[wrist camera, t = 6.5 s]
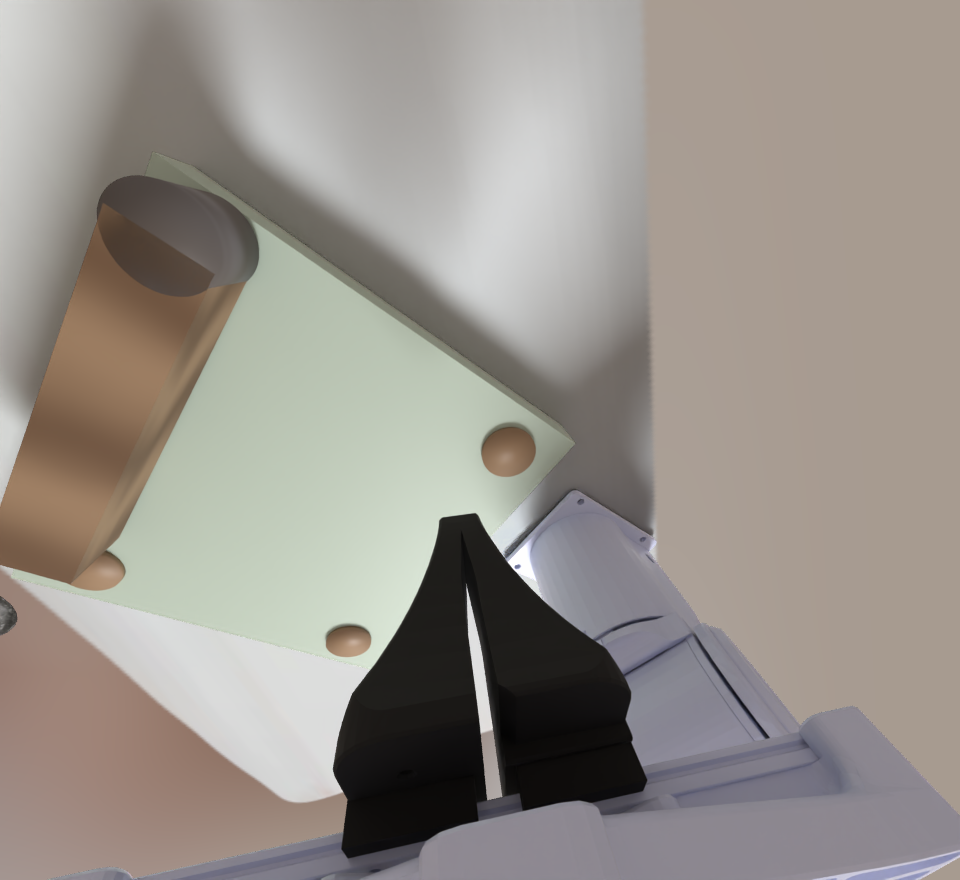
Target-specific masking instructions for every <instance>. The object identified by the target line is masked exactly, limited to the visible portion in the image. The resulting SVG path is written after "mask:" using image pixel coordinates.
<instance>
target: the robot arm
mask: <svg viewBox="0 0 960 880" xmlns="http://www.w3.org/2000/svg"><path fill="white" fill-rule="evenodd" d="M580 499H582V500H581V501H579V502H578V500H580ZM655 545H656V540H655V539H654V538H653V537H652V536H651V535H649V534H647V533H646V532H644V531H643V530H641V529H639V528H638V527H636V526H634V525H633V524H631V523H630V522H628V521H626V520H625V519H623V518H622V517H620V516H618V515H617V514H615V513H613V512H612V511H610V510H609V509H607V508H605V507H604V506H602V505H601V504H599V503H597V502H596V501H594V500H592V499H591V498H589V497H588V496H586V495H584V494H583V493H581V492H580V491H577V490H574V491H571V492H570V493H569V494H568V495H567V496H566V497H565V498H564V499H563V500H562V501H561V502H560V503H559V504H558V505H557V506H556V507H555V508H554V509H553V510H552V511H551V512H550V513H549V515H548V516H547V517H546V518H545V519H544V520H543V521H542V522H541V523H540V524H539V525H538V526H537V527H536V528H535V529H534V530H533V531H532V532H531V533H530V534H529V535H528V536H527V538H526V539H525V540H524V541H523V542H522V543H521V544H520V545H519V546H518V547H517V548H516V549H515V550H514V551H513V552H512V553H511V554H510V555H509V556H508V557H507V558H506V559H505V558H504V557H503V555H502V554H501V553H500V551H499V550H498V548H497V547H496V545H495V544H494V543H493V541H492V540H491V538H490V536H489V535H488V533H487V532H486V530H485V528H484V526H483V524H482V522H481V520H480V518H479V516H478V515H477V514H476V513H471V514H463V515H456V516H449V517H442V518H441V519H440V520H439V528H438V534H437V538H436V542H435V546H434V549H433V552H432V556H431V559H430V562H429V565H428V567H427V570H426V573H425V575H424V578H423V580H422V583H421V585H420V587H419V589H418V592H417V594H416V596H415V598H414V600H413V602H412V604H411V606H410V608H409V610H408V612H407V614H406V615H405V617H404V619H403V621H402V623H401V624H400V626H399V628H398V629H397V631H396V633H395V634H394V636H393V638H392V639H391V641H390V642H389V644H388V645H387V647H386V648H385V650H384V651H383V653H382V654H381V656H380V657H379V659H378V660H377V662H376V663H375V664H374V666H373V667H372V668H371V670H370V671H369V672H368V674H367V675H366V676H365V678H364V679H363V680H362V681H361V683H360V684H359V685H358V687H357V688H356V689H355V691H354V692H353V693H352V696H351V698H350V701H349V704H348V706H347V709H346V712H345V715H344V718H343V721H342V725H341V729H340V732H339V737H338V741H337V747H336V753H335V759H334V765H333V772H334V776H335V778H336V780H337V782H338V783H339V785H340V787H341V789H342V791H343V792H344V794H345V796H346V798H347V799H348V801H347V809H346V816H345V823H344V831H343V832H342V833H338V834H332V835H328V836H323V837H319V838H315V839H310V840H306V841H301V842H296V843H292V844H287V845H283V846H279V847H273V848H269V849H265V850H260V851H255V852H251V853H247V854H242V855H237V856H233V857H228V858H224V859H219V860H214V861H210V862H206V863H201V864H197V865H192V866H188V867H183V868H178V869H174V870H169V871H165V872H160V873H155V874H151V875H147V876H142V877H137V878H132V876H131V874H130V873H129V872H127V871H126V870H124V869H121V868H117V867H106V868H98V869H93V870H88V871H84V872H79V873H74V874H70V875H65V876H61V877H56V878H51V879H48V880H920V879H922V878H924V877H925V876H927V875H929V874H931V873H932V872H934V871H936V870H938V869H939V868H941V867H943V866H945V865H947V864H948V863H950V862H952V861H954V860H956V859H957V858H959V857H960V815H959V814H958V813H957V812H956V811H955V810H954V809H953V808H952V807H951V805H950V804H949V803H948V802H947V801H946V800H945V799H944V798H943V797H942V796H941V795H940V794H939V793H938V792H937V791H936V790H935V789H934V788H933V787H932V785H931V784H930V783H929V782H927V780H926V779H925V778H924V777H923V776H922V775H921V774H920V773H919V772H918V771H917V770H916V769H915V768H914V767H913V766H912V764H910V762H909V761H908V760H907V759H906V758H905V757H904V756H903V755H902V754H901V753H900V752H899V751H898V750H897V749H896V748H895V747H894V746H893V744H892V743H891V742H890V741H889V740H888V739H887V738H886V737H885V736H884V735H883V734H882V733H881V732H880V731H879V730H878V729H877V728H876V727H875V726H874V725H873V724H872V723H871V721H869V719H868V718H867V717H866V716H865V715H864V714H863V713H862V712H861V711H860V710H859V709H858V708H857V707H854V706H849V707H845V708H840V709H835V710H831V711H826V712H821V713H818V714H815V715H812V716H811V717H809V718H807V719H806V720H805V721H804V722H803V723H802V725H800V724H799V723H798V722H797V720H796V719H795V718H794V716H793V715H792V714H791V713H790V711H789V710H788V709H787V708H786V706H785V705H784V704H783V703H782V701H781V700H780V699H779V698H778V696H777V695H776V694H775V693H774V691H773V690H772V689H771V688H770V687H769V685H768V684H767V683H766V681H765V680H764V679H763V678H762V676H761V675H760V674H759V673H758V672H757V670H756V669H755V668H754V667H753V665H752V664H751V663H750V662H749V661H748V659H747V658H746V657H745V656H744V655H743V653H742V652H741V651H740V650H739V649H738V647H737V646H736V645H735V644H734V643H733V641H732V640H731V639H730V638H729V637H728V636H727V635H726V633H725V632H724V631H723V630H722V629H720V628H716V627H713V626H710V627H709V626H708V625H707V624H706V623H700V622H699V620H698V618H697V616H696V614H695V612H694V611H693V609H692V608H691V607H690V605H689V604H688V603H687V602H686V600H685V599H684V597H683V596H682V595H681V593H680V592H679V591H678V589H677V588H676V587H675V585H674V584H673V583H672V581H671V580H670V579H669V577H668V576H667V575H666V573H665V572H664V571H663V569H662V568H661V567H660V566H659V564H658V563H657V562H656V560H655V559H654V558H653V556H652V555H651V554H650V552H649V551H650V550H651V549H652V548H653V547H654V546H655ZM516 564H518V565H516ZM515 571H516V572H518V573H520V574H522V575H524V576H527V577H529V578H531V579H533V580H536V581H537V584H538V587H539V590H540V593H541V595H542V598H543V600H542V599H541V598H540V597H539V596H538V595H537V594H536V593H535V592H534V591H533V590H532V589H531V588H530V587H529V586H528V585H527V584H526V583H525V582H524V581H523V579H522V578H521V577H520V576H519V575H518V574H517V573H516V572H515ZM466 584H467V588H468V593H469V597H470V601H471V606H472V610H473V614H474V618H475V623H476V627H477V631H478V635H479V640H480V645H481V650H482V655H483V662H484V669H485V676H486V683H487V690H488V697H489V704H490V711H491V718H492V725H493V732H494V739H495V746H496V753H497V761H498V768H499V775H500V782H501V790H502V796H503V797H500V798H496V799H492V800H487V795H486V785H485V776H484V763H483V753H482V743H481V733H480V724H479V715H478V707H477V699H476V691H475V684H474V676H473V669H472V661H471V653H470V646H469V638H468V619H467V592H466Z"/></svg>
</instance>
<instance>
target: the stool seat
mask: <svg viewBox="0 0 960 880" xmlns="http://www.w3.org/2000/svg"><path fill="white" fill-rule="evenodd" d="M145 176H148V177H152V178H157V179H160V180H164V181H168V182H172V183H176V184H179V185H183V186H187V187H191V188H194V189H198V190H202V191H206V192H210V193H212V194H215V195H218V196H220V197H222V198H224V199H225V200H227V201H228V202H230V203H231V204H232V205H234V206H235V207H236V208H237V209H238V210H239V211H240V212H241V213H242V214H243V215H244V217H245V218H246V219H247V221H248V222H249V223H250V225H251V227H252V229H253V231H254V233H255V235H256V238H257V242H258V247H259V262H258V266H257V268H256V271H255V273H254V274H253V276H252V277H251V278H250V279H249V280H248V281H247V282H246V284H245V286H244V288H243V290H242V292H241V294H240V296H239V298H238V300H237V302H236V304H235V306H234V308H233V310H232V312H231V314H230V316H229V318H228V320H227V322H226V324H225V326H224V328H223V330H222V332H221V334H220V336H219V338H218V340H217V342H216V344H215V346H214V348H213V350H212V352H211V354H210V356H209V358H208V360H207V362H206V364H205V366H204V368H203V370H202V372H201V374H200V376H199V378H198V380H197V382H196V384H195V386H194V388H193V390H192V393H191V395H190V397H189V399H188V401H187V403H186V405H185V407H184V409H183V411H182V413H181V415H180V417H179V419H178V421H177V423H176V425H175V427H174V429H173V431H172V433H171V435H170V437H169V439H168V441H167V443H166V445H165V447H164V449H163V451H162V453H161V455H160V457H159V459H158V461H157V463H156V465H155V467H154V469H153V471H152V473H151V475H150V477H149V479H148V481H147V483H146V485H145V487H144V489H143V491H142V493H141V495H140V497H139V499H138V501H137V503H136V505H135V507H134V509H133V511H132V513H131V515H130V517H129V519H128V521H127V523H126V525H125V527H124V529H123V531H122V533H121V535H120V537H119V538H118V539H117V540H116V541H115V542H114V543H113V544H112V545H111V546H110V547H109V548H108V549H107V550H106V551H105V552H104V553H103V554H102V555H100V556H99V557H98V558H97V559H96V560H95V561H94V562H93V563H92V564H91V565H90V566H89V567H88V568H87V569H86V570H85V571H84V572H83V573H82V574H81V575H80V576H79V577H78V578H77V579H76V580H74V581H73V582H72V583H71V584H67V583H64V582H60V581H57V580H53V579H49V578H46V577H42V576H39V575H35V574H31V573H28V572H24V571H20V570H17V569H14V571H13V574H12V577H11V578H14V579H18V580H22V581H26V582H30V583H34V584H38V585H42V586H46V587H50V588H53V589H57V590H61V591H65V592H69V593H73V594H77V595H81V596H85V597H89V598H93V599H96V600H100V601H104V602H108V603H112V604H116V605H120V606H124V607H128V608H132V609H136V610H139V611H143V612H147V613H151V614H155V615H159V616H163V617H167V618H171V619H175V620H179V621H182V622H186V623H190V624H194V625H198V626H202V627H206V628H210V629H214V630H218V631H222V632H225V633H229V634H233V635H237V636H241V637H245V638H249V639H253V640H257V641H261V642H265V643H268V644H272V645H276V646H280V647H284V648H288V649H292V650H296V651H300V652H304V653H308V654H311V655H315V656H319V657H323V658H327V659H331V660H335V661H339V662H343V663H347V664H350V665H354V666H358V667H362V668H366V669H371V668H372V667H373V666H374V664H375V663H376V662H377V660H378V659H379V657H380V656H381V654H382V653H383V651H384V650H385V648H386V647H387V645H388V644H389V642H390V641H391V639H392V638H393V636H394V634H395V633H396V631H397V629H398V628H399V626H400V624H401V623H402V621H403V619H404V617H405V615H406V614H407V612H408V610H409V608H410V606H411V604H412V602H413V600H414V598H415V596H416V594H417V592H418V589H419V587H420V585H421V583H422V580H423V578H424V575H425V573H426V570H427V567H428V565H429V562H430V559H431V556H432V552H433V549H434V546H435V542H436V538H437V534H438V528H439V520H440V519H441V518H442V517H449V516H456V515H463V514H471V513H476V514H477V515H478V516H479V518H480V520H481V522H482V524H483V526H484V528H485V530H486V532H487V533H488V535H489V536H490V537H491V536H492V535H493V534H494V533H495V532H496V531H497V529H498V528H499V527H500V526H501V525H502V524H503V523H504V522H505V521H506V520H507V518H508V517H509V516H510V515H511V514H512V513H513V512H514V511H515V510H516V509H517V508H518V506H519V505H520V504H521V503H522V502H523V501H524V500H525V499H526V498H527V497H528V495H529V494H530V493H531V492H532V491H533V490H534V489H535V488H536V487H537V486H538V484H539V483H540V482H541V481H542V480H543V479H544V478H545V477H546V476H547V475H548V473H549V472H550V471H551V470H552V469H553V468H554V467H555V466H556V465H557V464H558V462H559V461H560V460H561V459H562V458H563V457H564V456H565V455H566V454H567V453H568V451H569V450H570V449H571V448H572V447H573V446H574V445H575V444H576V443H575V442H574V441H573V439H572V438H571V437H570V436H569V434H568V433H567V432H566V431H565V429H564V428H563V427H562V426H561V424H559V423H558V422H556V421H555V420H553V419H552V418H551V417H549V416H548V415H546V414H545V413H543V412H542V411H541V410H539V409H538V408H536V407H535V406H534V405H532V404H531V403H529V402H528V401H526V400H525V399H524V398H522V397H521V396H519V395H518V394H516V393H515V392H514V391H512V390H511V389H509V388H508V387H507V386H505V385H504V384H502V383H501V382H499V381H498V380H497V379H495V378H494V377H492V376H491V375H489V374H488V373H487V372H485V371H484V370H482V369H481V368H480V367H478V366H477V365H475V364H474V363H472V362H471V361H470V360H468V359H467V358H465V357H464V356H462V355H461V354H460V353H458V352H457V351H455V350H454V349H452V348H451V347H450V346H448V345H447V344H445V343H444V342H443V341H441V340H440V339H438V338H437V337H435V336H434V335H433V334H431V333H430V332H428V331H427V330H425V329H424V328H423V327H421V326H420V325H418V324H417V323H416V322H414V321H413V320H411V319H410V318H408V317H407V316H406V315H404V314H403V313H401V312H400V311H398V310H397V309H396V308H394V307H393V306H391V305H390V304H389V303H387V302H386V301H384V300H383V299H381V298H380V297H379V296H377V295H376V294H374V293H373V292H371V291H370V290H369V289H367V288H366V287H364V286H363V285H361V284H360V283H359V282H357V281H356V280H354V279H353V278H352V277H350V276H349V275H347V274H346V273H344V272H343V271H342V270H340V269H339V268H337V267H336V266H334V265H333V264H332V263H330V262H329V261H327V260H326V259H325V258H323V257H322V256H320V255H319V254H317V253H316V252H315V251H313V250H312V249H310V248H309V247H307V246H306V245H305V244H303V243H302V242H300V241H299V240H298V239H296V238H295V237H293V236H292V235H290V234H289V233H288V232H286V231H285V230H283V229H282V228H280V227H279V226H278V225H276V224H275V223H273V222H272V221H270V220H269V219H268V218H266V217H265V216H263V215H262V214H261V213H259V212H258V211H256V210H255V209H253V208H252V207H251V206H249V205H248V204H246V203H245V202H243V201H242V200H241V199H239V198H238V197H236V196H235V195H234V194H232V193H231V192H229V191H228V190H226V189H225V188H224V187H222V186H221V185H219V184H218V183H216V182H215V181H214V180H212V179H211V178H209V177H208V176H207V175H205V174H204V173H202V172H201V171H199V170H198V169H197V168H195V167H194V166H192V165H189V164H186V163H183V162H181V161H178V160H175V159H172V158H170V157H167V156H164V155H161V154H158V153H156V152H152V155H151V158H150V161H149V164H148V167H147V170H146V173H145Z"/></svg>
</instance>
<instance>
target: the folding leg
mask: <svg viewBox="0 0 960 880" xmlns="http://www.w3.org/2000/svg"><path fill="white" fill-rule="evenodd" d="M258 262H259V247H258V242H257V238H256V235H255V233H254V231H253V229H252V227H251V225H250V223H249V222H248V221H247V219H246V218H245V217H244V215H243V214H242V213H241V212H240V211H239V210H238V209H237V208H236V207H235V206H234V205H232V204H231V203H230V202H228V201H227V200H225V199H224V198H222V197H220V196H218V195H215V194H212V193H210V192H206V191H202V190H198V189H194V188H191V187H187V186H183V185H179V184H176V183H172V182H168V181H164V180H160V179H157V178H152V177H148V176H140V175H139V176H127V177H123V178H120V179H118V180H116V181H114V182H113V183H111V184H110V185H109V186H108V187H107V188H106V189H105V190H104V192H103V193H102V195H101V197H100V199H99V203H98V207H97V223H96V226H95V229H94V232H93V235H92V238H91V240H90V243H89V246H88V249H87V252H86V255H85V258H84V261H83V264H82V267H81V270H80V273H79V276H78V279H77V282H76V285H75V288H74V291H73V293H72V296H71V299H70V302H69V305H68V308H67V311H66V314H65V317H64V320H63V323H62V326H61V329H60V332H59V335H58V338H57V341H56V344H55V346H54V349H53V352H52V355H51V358H50V361H49V364H48V367H47V370H46V373H45V376H44V379H43V382H42V385H41V388H40V391H39V394H38V397H37V399H36V402H35V405H34V408H33V411H32V414H31V417H30V420H29V423H28V426H27V429H26V432H25V435H24V438H23V441H22V444H21V447H20V450H19V452H18V455H17V458H16V461H15V464H14V467H13V470H12V473H11V476H10V479H9V482H8V485H7V488H6V491H5V494H4V497H3V500H2V502H1V505H0V565H2V566H6V567H10V568H13V569H17V570H20V571H24V572H28V573H31V574H35V575H39V576H42V577H46V578H49V579H53V580H57V581H60V582H64V583H67V584H71V583H72V582H73V581H74V580H76V579H77V578H78V577H79V576H80V575H81V574H82V573H83V572H84V571H85V570H86V569H87V568H88V567H89V566H90V565H91V564H92V563H93V562H94V561H95V560H96V559H97V558H98V557H99V556H100V555H102V554H103V553H104V552H105V551H106V550H107V549H108V548H109V547H110V546H111V545H112V544H113V543H114V542H115V541H116V540H117V539H118V538H119V537H120V535H121V533H122V531H123V529H124V527H125V525H126V523H127V521H128V519H129V517H130V515H131V513H132V511H133V509H134V507H135V505H136V503H137V501H138V499H139V497H140V495H141V493H142V491H143V489H144V487H145V485H146V483H147V481H148V479H149V477H150V475H151V473H152V471H153V469H154V467H155V465H156V463H157V461H158V459H159V457H160V455H161V453H162V451H163V449H164V447H165V445H166V443H167V441H168V439H169V437H170V435H171V433H172V431H173V429H174V427H175V425H176V423H177V421H178V419H179V417H180V415H181V413H182V411H183V409H184V407H185V405H186V403H187V401H188V399H189V397H190V395H191V393H192V390H193V388H194V386H195V384H196V382H197V380H198V378H199V376H200V374H201V372H202V370H203V368H204V366H205V364H206V362H207V360H208V358H209V356H210V354H211V352H212V350H213V348H214V346H215V344H216V342H217V340H218V338H219V336H220V334H221V332H222V330H223V328H224V326H225V324H226V322H227V320H228V318H229V316H230V314H231V312H232V310H233V308H234V306H235V304H236V302H237V300H238V298H239V296H240V294H241V292H242V290H243V288H244V286H245V284H246V282H247V281H248V280H249V279H250V278H251V277H252V276H253V274H254V273H255V271H256V268H257V266H258Z"/></svg>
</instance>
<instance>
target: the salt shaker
mask: <svg viewBox="0 0 960 880" xmlns="http://www.w3.org/2000/svg"><path fill="white" fill-rule="evenodd" d="M16 622H17V613H16V611H15V610H14V608H13V607H12V605H11V604H10V603H8V602H7V601H6V600H5V599H4V598H2V597H1V596H0V635H3V634H5V633H7V632H8V631H10V630H11V629H12V628H13V627H14V626H15V624H16Z"/></svg>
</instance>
